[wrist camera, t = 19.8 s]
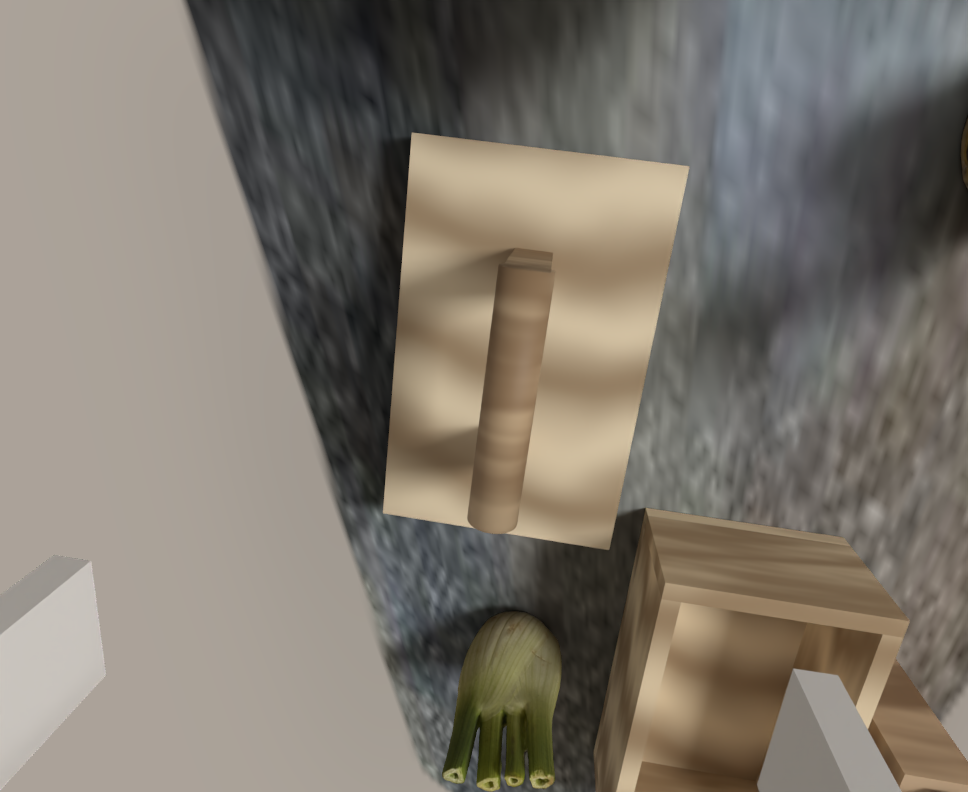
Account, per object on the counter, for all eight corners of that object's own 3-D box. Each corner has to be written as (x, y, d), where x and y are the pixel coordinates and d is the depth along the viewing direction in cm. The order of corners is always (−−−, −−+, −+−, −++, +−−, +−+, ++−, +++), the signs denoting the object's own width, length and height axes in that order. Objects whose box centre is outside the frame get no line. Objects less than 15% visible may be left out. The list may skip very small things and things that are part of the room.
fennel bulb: (464, 639, 45) (431, 792, 34) (491, 585, 44) (467, 727, 32) (540, 672, 45) (533, 835, 34) (570, 619, 44) (573, 772, 32)
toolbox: (645, 507, 40) (670, 600, 32) (936, 551, 39) (1048, 661, 30) (593, 752, 47) (601, 886, 38) (841, 796, 46) (910, 946, 37)
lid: (421, 135, 35) (362, 116, 25) (680, 167, 34) (733, 161, 24) (392, 494, 42) (336, 598, 32) (606, 529, 42) (621, 648, 31)
